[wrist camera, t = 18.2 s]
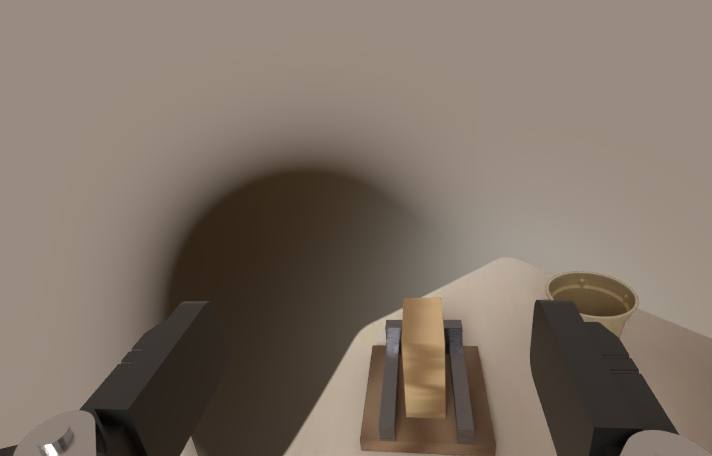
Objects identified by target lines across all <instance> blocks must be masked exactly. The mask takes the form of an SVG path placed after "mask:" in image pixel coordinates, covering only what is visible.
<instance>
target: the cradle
mask: <svg viewBox="0 0 712 456" xmlns="http://www.w3.org/2000/svg"><path fill="white" fill-rule="evenodd" d="M402 321H403V320H386V340H387V342H386V346H373V347H372V355H371V362H370V370H369V377H368V384H367V392H366V399H365V407H364V414H363V422H362V429H361V437H360V444H361V450H362V451H384V452H406V453H428V454H451V455H473V456H495V448H496V445H495V440H494V434H493V429H492V423H491V418H490V412H489V407H488V401H487V396H486V390H485V385H484V379H483V374H482V368H481V363H480V357H479V352H478V346H463V345H462V323H461V320H443V326H444V339H445V401H446V419H445V418H416V417H406V402H405V387H404V372H403V357H402V342H401V340H402Z"/></svg>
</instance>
